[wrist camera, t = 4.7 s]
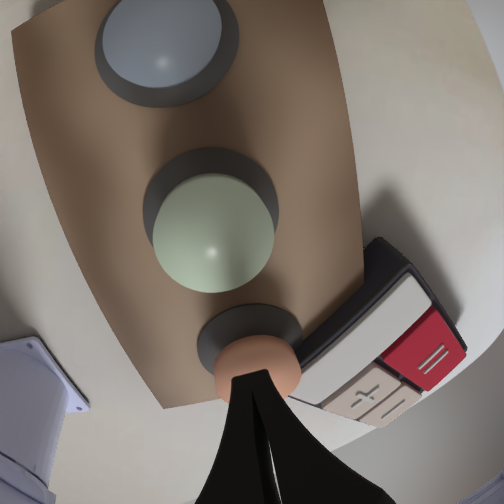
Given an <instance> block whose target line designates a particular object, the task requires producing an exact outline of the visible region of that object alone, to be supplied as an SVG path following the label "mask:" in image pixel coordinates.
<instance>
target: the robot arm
mask: <svg viewBox="0 0 504 504" xmlns="http://www.w3.org/2000/svg"><path fill="white" fill-rule="evenodd" d="M88 411H90V405H89V403H88V402H87V401H86V400H85V399H84V398H83V396H82V395H81V394H80V393H79V392H78V390H77V389H76V388H75V387H74V385H73V384H72V383H71V382H70V380H69V379H68V378H67V377H66V375H65V374H64V373H63V371H62V370H61V369H60V367H59V366H58V365H57V363H56V362H55V361H54V359H53V358H52V356H51V355H50V354H49V352H48V351H47V349H46V348H45V346H44V345H43V344H42V342H41V341H40V339H39V338H37V337H35V336H32V337H27V338H22V339H17V340H13V341H8V342H3V343H0V504H55V501H56V495H55V494H54V493H52V492H51V491H49V490H48V486H49V481H50V476H51V471H52V466H53V461H54V457H55V453H56V448H57V444H58V440H59V436H60V432H61V428H62V424H63V421H64V417H65V413H75V412H88ZM269 444H270V446H269ZM270 448H271V453H272V457H273V462H274V467H275V472H276V476H277V481H278V486H279V491H280V496H281V500H282V504H396V503H395V501H394V500H393V499H392V498H391V497H390V496H389V495H388V494H387V493H386V492H385V491H384V490H383V489H382V488H380V487H379V486H377V485H375V484H373V483H372V482H370V481H369V480H367V479H365V478H364V477H362V476H361V475H359V474H358V473H357V472H355V471H354V470H352V469H351V468H349V467H348V466H347V465H346V464H344V463H343V462H342V461H341V460H339V459H338V458H337V457H336V456H334V455H333V454H332V453H331V452H330V451H329V450H327V449H326V448H325V447H324V446H323V445H322V444H321V443H320V442H319V441H318V440H317V439H316V438H315V437H314V436H313V435H312V434H311V433H310V432H309V431H308V430H307V429H306V428H305V426H304V425H303V424H302V423H301V422H300V421H299V419H298V418H297V417H296V416H295V414H294V413H293V412H292V411H291V409H290V408H289V406H288V405H287V404H286V402H285V401H284V399H283V398H282V396H281V395H280V393H279V392H278V390H277V388H276V387H275V385H274V383H273V381H272V379H271V376H270V374H269V371H268V370H267V369H262V370H258V371H254V372H251V373H247V374H243V375H239V376H235V377H233V378H232V379H231V393H230V401H229V408H228V413H227V418H226V423H225V427H224V431H223V435H222V439H221V442H220V446H219V449H218V452H217V455H216V458H215V461H214V464H213V466H212V469H211V471H210V474H209V476H208V478H207V480H206V483H205V485H204V487H203V489H202V491H201V493H200V495H199V497H198V498H197V500H196V502H195V504H281V500H280V497H279V494H278V490H277V486H276V482H275V478H274V473H273V466H272V460H271V453H270ZM456 504H504V469H503V470H502V471H501V473H499V474H498V475H497V476H495V477H494V478H493V479H491V480H490V481H489V482H487V483H486V484H485V485H483V486H482V487H480V488H479V489H478V490H476V491H475V492H473V493H472V494H470V495H469V496H467V497H466V498H464V499H463V500H461V501H460V502H458V503H456Z"/></svg>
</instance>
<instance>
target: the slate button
mask: <svg viewBox="0 0 504 504" xmlns="http://www.w3.org/2000/svg"><path fill="white" fill-rule="evenodd" d="M221 31H222V23H221V17H220V14H219V11H218V9H217V7H216V5H215V3H214V2H213V1H212V0H122V1H121V2H120V3H119V4H118V5H117V6H116V8H115V9H114V10H113V11H112V13H111V15H110V16H109V18H108V20H107V22H106V25H105V28H104V32H103V51H104V54H105V57H106V59H107V61H108V63H109V65H110V66H111V68H112V69H113V70H114V71H115V72H116V73H117V74H118V75H120V76H121V77H122V78H124V79H126V80H128V81H130V82H132V83H135V84H137V85H140V86H143V87H147V88H169V87H174V86H177V85H180V84H183V83H185V82H187V81H189V80H191V79H193V78H194V77H196V76H197V75H198V74H200V73H201V72H202V71H203V70H204V69H205V68H206V67H207V66H208V64H209V63H210V62H211V60H212V59H213V57H214V55H215V53H216V51H217V48H218V44H219V41H220V37H221Z"/></svg>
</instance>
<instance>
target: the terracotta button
mask: <svg viewBox="0 0 504 504" xmlns="http://www.w3.org/2000/svg"><path fill="white" fill-rule="evenodd" d="M262 369H267V370H268V371H269V374H270V376H271V379H272V381H273V383H274V385H275V387H276V388H277V390H278V392H279V393H280V395H281V396H282V398H283V399H284V398H286V397H287V396H289V395H290V394H291V393H292V392H293V391H294V390H295V389H296V387H297V386H298V384H299V382H300V380H301V368H300V365H299V363H298V360H297V358H296V355H295V352H294V350H293V348H292V347H291V346H290V345H289V344H288V343H287V342H286V341H284V340H282V339H280V338H277V337H274V336H269V335H254V336H248V337H244V338H241V339H238V340H236V341H234V342H232V343H230V344H229V345H227V346H226V347H225V348H223V349H222V350H221V351H220V353H219V354H218V355H217V357H216V359H215V361H214V365H213V371H214V381H215V389H216V392H217V394H218V395H219V397H220V398H221V399H222V400H224V401H225V402H227V403H229V401H230V393H231V379H232V378H233V377H235V376H239V375H243V374H247V373H251V372H254V371H258V370H262Z"/></svg>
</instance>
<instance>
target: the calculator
mask: <svg viewBox="0 0 504 504" xmlns="http://www.w3.org/2000/svg"><path fill="white" fill-rule="evenodd" d="M363 260H364V284H363V285H362V286H361V287H360V288H359V289H358V290H357V291H356V292H355V293H354V294H353V295H352V296H351V297H350V298H349V299H348V300H347V301H346V302H345V303H344V304H343V305H342V306H341V307H339V308H338V309H337V310H336V311H335V312H334V313H333V314H332V315H331V316H330V317H329V318H328V319H327V320H326V321H324V322H323V323H322V324H321V325H320V326H319V327H318V328H317V329H316V330H315V331H313V332H312V333H311V334H310V335H309V336H308V337H307V338H306V339H304V340H303V341H302V345H301V346H300V347H299V348H298V349H297V350H295V351H294V352H295V355H296V358H297V360H298V363H299V365H300V368H301V380H300V382H299V384H298V386H297V387H296V389H295V390H294V391H293V392H292V393H291V394H290V395H289V396H288V397H290V398H293V399H295V400H298V401H301V402H303V403H306V404H309V405H312V406H314V407H317V408H320V409H323V410H326V411H329V412H332V413H335V414H337V415H340V416H344V417H347V418H350V419H353V420H356V421H359V422H363V423H366V424H369V425H373V426H376V427H380V428H382V427H384V426H386V425H387V424H389V423H390V422H391V421H392V420H394V419H395V418H397V417H398V416H399V415H400V414H401V413H403V412H404V411H406V410H407V409H408V408H409V407H411V406H412V405H413V404H414V403H416V402H417V401H418V400H419V399H420V398H421V397H422V395H421V393H422V392H423V391H424V390H425V391H430V390H431V389H432V388H433V387H434V386H436V385H437V384H438V383H439V382H440V381H441V380H442V379H443V378H444V377H445V376H447V375H448V374H449V373H450V372H451V371H452V370H453V369H454V368H455V367H456V366H457V365H458V364H459V363H460V362H461V361H462V360H463V359H464V358H465V357H466V353H465V352H466V351H467V346H466V344H465V342H464V341H463V339H462V337H461V336H460V334H459V332H458V331H457V329H456V327H455V326H454V324H453V323H452V321H451V319H450V318H449V316H448V315H447V313H446V312H445V310H444V309H443V307H442V305H441V304H440V302H439V301H438V299H437V298H436V296H435V295H434V293H433V292H432V290H431V289H430V288H429V286H428V285H427V283H426V282H425V280H424V279H423V277H422V276H421V275H420V273H419V272H418V270H417V269H416V268H415V266H414V265H413V264H412V263H411V262H410V261H409V260H408V259H407V258H406V257H405V256H403V255H402V254H401V253H400V252H399V251H398V250H396V249H395V248H394V247H393V246H392V245H391V244H389V243H388V242H387V241H386V240H384V239H383V238H382V237H377V238H375V239H374V240H373V241H372V242H371V243H370V244H369V245H368V246H367V247H366V248H365V249H364V250H363Z"/></svg>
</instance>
